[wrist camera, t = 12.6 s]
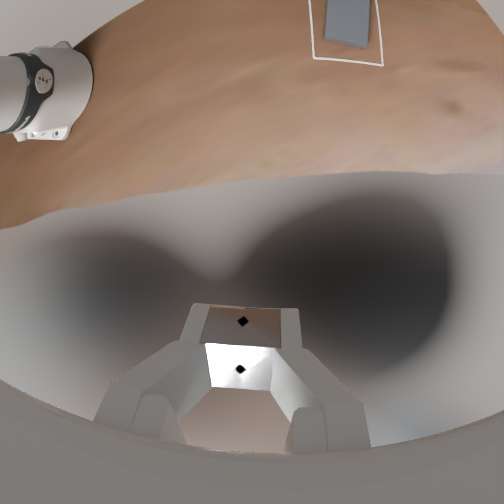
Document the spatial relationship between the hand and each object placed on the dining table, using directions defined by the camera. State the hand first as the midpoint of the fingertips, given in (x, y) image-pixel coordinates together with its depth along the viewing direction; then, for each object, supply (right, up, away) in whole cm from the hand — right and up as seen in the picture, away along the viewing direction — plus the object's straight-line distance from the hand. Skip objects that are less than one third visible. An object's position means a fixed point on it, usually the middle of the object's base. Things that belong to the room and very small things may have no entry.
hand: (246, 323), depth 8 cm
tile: (+13, +31, +21) cm, 40 cm away
